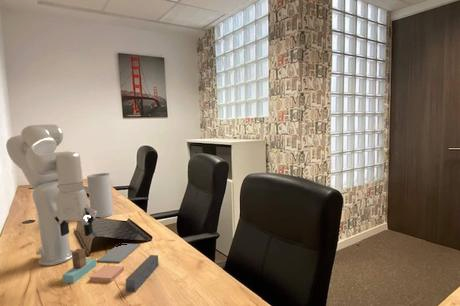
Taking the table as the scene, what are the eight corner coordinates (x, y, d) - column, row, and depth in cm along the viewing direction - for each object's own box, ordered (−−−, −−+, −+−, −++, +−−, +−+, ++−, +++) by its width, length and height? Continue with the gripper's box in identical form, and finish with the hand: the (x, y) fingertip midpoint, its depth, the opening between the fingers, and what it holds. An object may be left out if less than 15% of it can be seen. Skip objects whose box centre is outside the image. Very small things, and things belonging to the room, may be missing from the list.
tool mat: (96, 261, 112) (96, 260, 112) (119, 244, 128) (119, 243, 128) (119, 262, 110) (119, 261, 110) (140, 245, 126) (140, 244, 126)
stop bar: (126, 291, 91) (125, 279, 90) (151, 265, 107) (150, 255, 107) (135, 292, 90) (134, 280, 90) (158, 265, 107) (157, 255, 106)
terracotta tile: (90, 282, 98) (90, 276, 98) (104, 270, 106) (104, 265, 106) (111, 283, 97) (110, 278, 96) (124, 271, 104) (123, 266, 104)
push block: (63, 283, 98) (60, 258, 97) (87, 265, 110) (84, 243, 109) (73, 283, 97) (70, 258, 96) (96, 266, 109) (94, 243, 108)
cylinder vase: (86, 218, 170) (82, 177, 167) (100, 211, 182) (96, 173, 179) (104, 218, 167) (100, 176, 164) (117, 212, 179) (114, 173, 176)
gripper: (41, 190, 98) (47, 238, 100) (85, 189, 95) (91, 238, 96) (58, 186, 106) (64, 230, 107) (100, 184, 102) (105, 230, 104)
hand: (77, 234), depth 102 cm, fingers open, 9 cm apart
